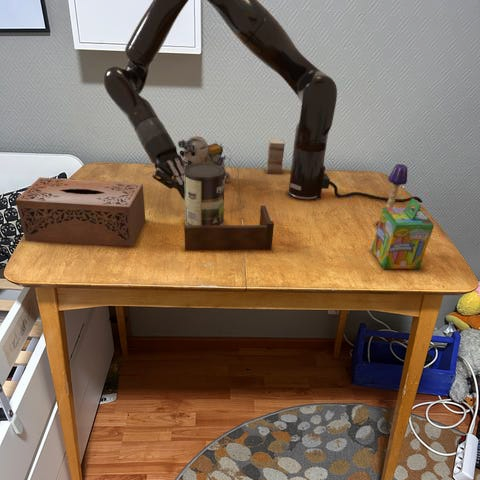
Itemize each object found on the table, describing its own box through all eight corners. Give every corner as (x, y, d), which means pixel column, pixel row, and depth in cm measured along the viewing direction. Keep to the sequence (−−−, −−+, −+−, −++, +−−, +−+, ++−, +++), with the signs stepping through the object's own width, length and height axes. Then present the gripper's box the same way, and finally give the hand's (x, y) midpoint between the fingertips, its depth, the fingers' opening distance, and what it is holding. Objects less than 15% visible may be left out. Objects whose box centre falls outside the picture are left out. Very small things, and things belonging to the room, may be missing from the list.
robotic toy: (168, 183, 144) (166, 133, 135) (212, 172, 154) (212, 124, 145) (194, 197, 137) (193, 144, 128) (238, 184, 146) (240, 134, 137)
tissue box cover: (25, 240, 111) (15, 200, 105) (47, 214, 123) (39, 177, 117) (133, 246, 111) (129, 207, 105) (145, 220, 123) (142, 183, 117)
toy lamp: (394, 225, 128) (411, 164, 118) (393, 232, 124) (410, 170, 114) (377, 221, 129) (391, 161, 119) (375, 228, 125) (390, 166, 115)
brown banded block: (266, 173, 155) (268, 142, 149) (265, 169, 159) (268, 138, 153) (282, 174, 156) (285, 143, 150) (281, 169, 159) (284, 139, 153)
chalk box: (370, 250, 115) (384, 193, 106) (406, 250, 116) (423, 193, 107) (382, 270, 108) (398, 209, 99) (420, 270, 109) (440, 210, 100)
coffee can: (227, 216, 127) (228, 164, 119) (219, 233, 119) (220, 178, 110) (190, 212, 128) (189, 160, 120) (180, 228, 120) (178, 174, 111)
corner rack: (264, 226, 123) (266, 201, 119) (271, 250, 113) (274, 223, 109) (184, 226, 121) (184, 201, 117) (184, 250, 111) (184, 223, 106)
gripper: (142, 136, 115) (178, 199, 116) (181, 127, 123) (214, 185, 124) (129, 153, 120) (164, 212, 122) (167, 143, 129) (199, 198, 130)
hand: (189, 198), depth 123 cm, fingers closed
